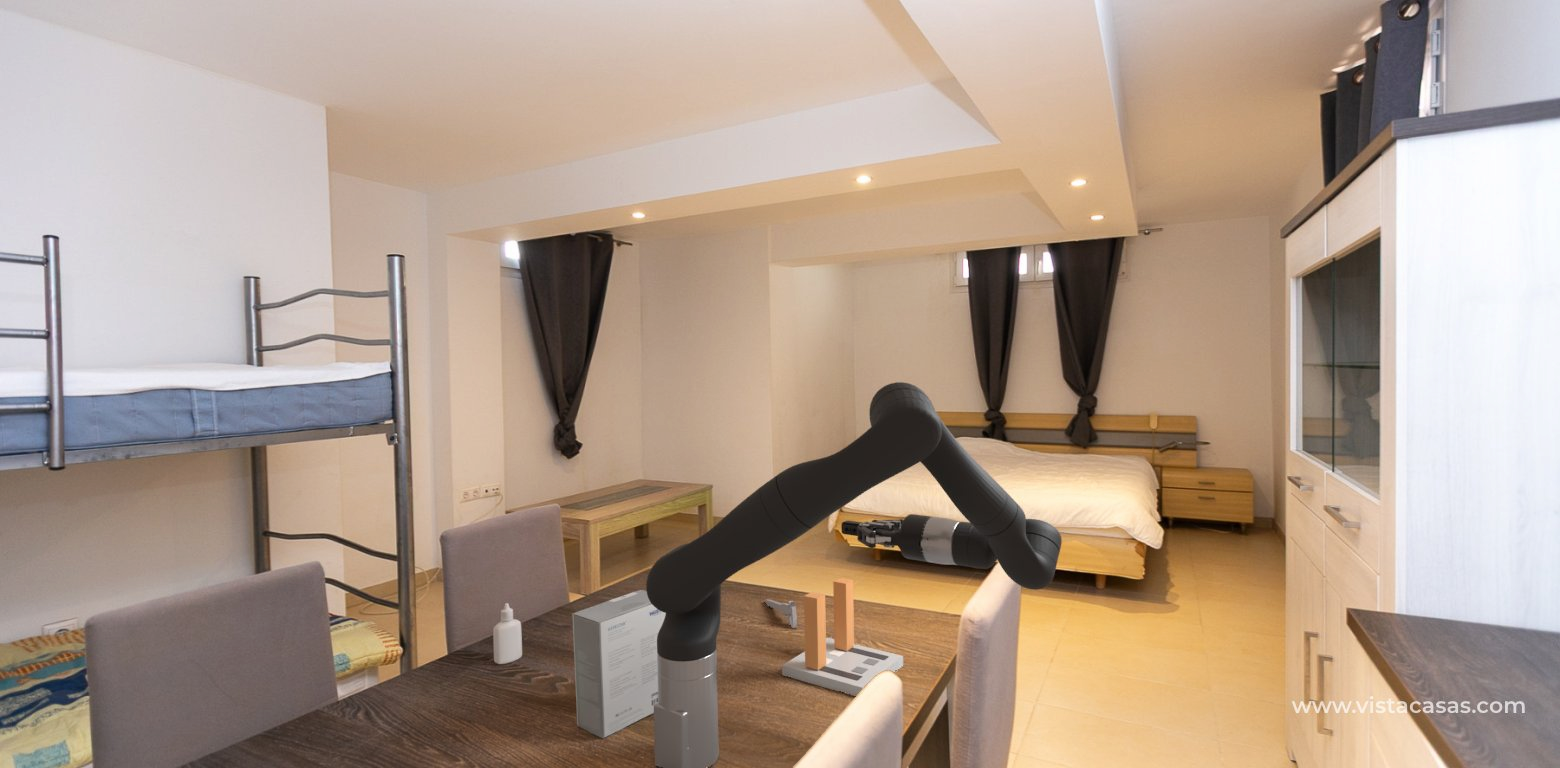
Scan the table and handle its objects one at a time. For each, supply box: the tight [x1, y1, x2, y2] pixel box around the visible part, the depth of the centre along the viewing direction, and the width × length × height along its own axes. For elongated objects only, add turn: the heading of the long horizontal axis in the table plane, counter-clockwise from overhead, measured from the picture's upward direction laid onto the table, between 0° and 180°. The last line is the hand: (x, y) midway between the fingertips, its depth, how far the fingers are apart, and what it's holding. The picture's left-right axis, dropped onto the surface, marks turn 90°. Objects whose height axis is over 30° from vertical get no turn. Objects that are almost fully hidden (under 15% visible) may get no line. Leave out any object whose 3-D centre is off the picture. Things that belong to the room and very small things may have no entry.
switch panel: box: [781, 637, 904, 697], centre depth 144 cm, size 17×18×2 cm
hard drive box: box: [572, 589, 666, 739], centre depth 127 cm, size 16×8×20 cm, turn 141°
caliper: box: [763, 598, 798, 629], centre depth 177 cm, size 20×1×6 cm, turn 21°
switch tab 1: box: [803, 591, 827, 670], centre depth 141 cm, size 3×3×14 cm
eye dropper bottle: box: [492, 602, 523, 665], centre depth 152 cm, size 4×6×12 cm
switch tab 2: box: [832, 577, 855, 651], centre depth 150 cm, size 3×3×14 cm
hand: (843, 526), depth 130 cm, fingers closed
